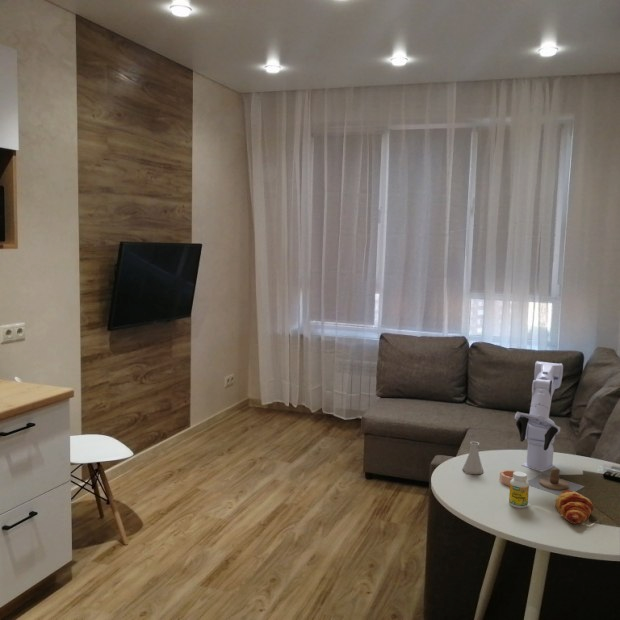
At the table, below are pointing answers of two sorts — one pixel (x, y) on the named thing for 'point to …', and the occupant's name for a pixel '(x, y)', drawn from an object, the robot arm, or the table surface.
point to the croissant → (574, 506)
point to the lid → (554, 481)
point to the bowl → (506, 476)
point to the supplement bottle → (519, 490)
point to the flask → (473, 460)
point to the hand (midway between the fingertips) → (534, 444)
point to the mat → (536, 484)
